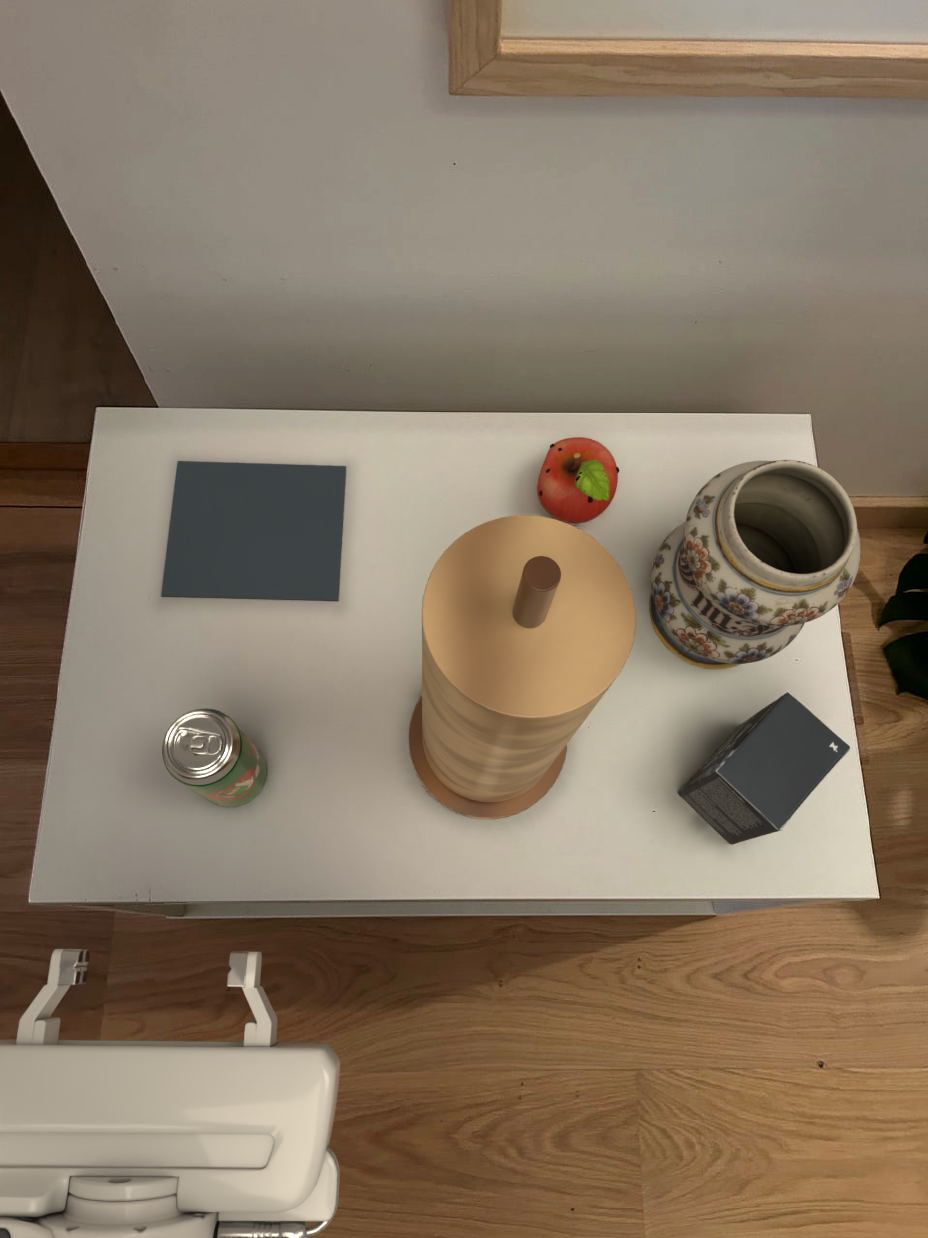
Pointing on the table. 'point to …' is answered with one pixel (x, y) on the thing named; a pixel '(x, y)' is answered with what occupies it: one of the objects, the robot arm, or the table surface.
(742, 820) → the box
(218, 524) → the mat
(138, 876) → the table surface
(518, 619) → the towel stand
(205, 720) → the soda can
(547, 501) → the apple
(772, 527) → the apothecary jar
